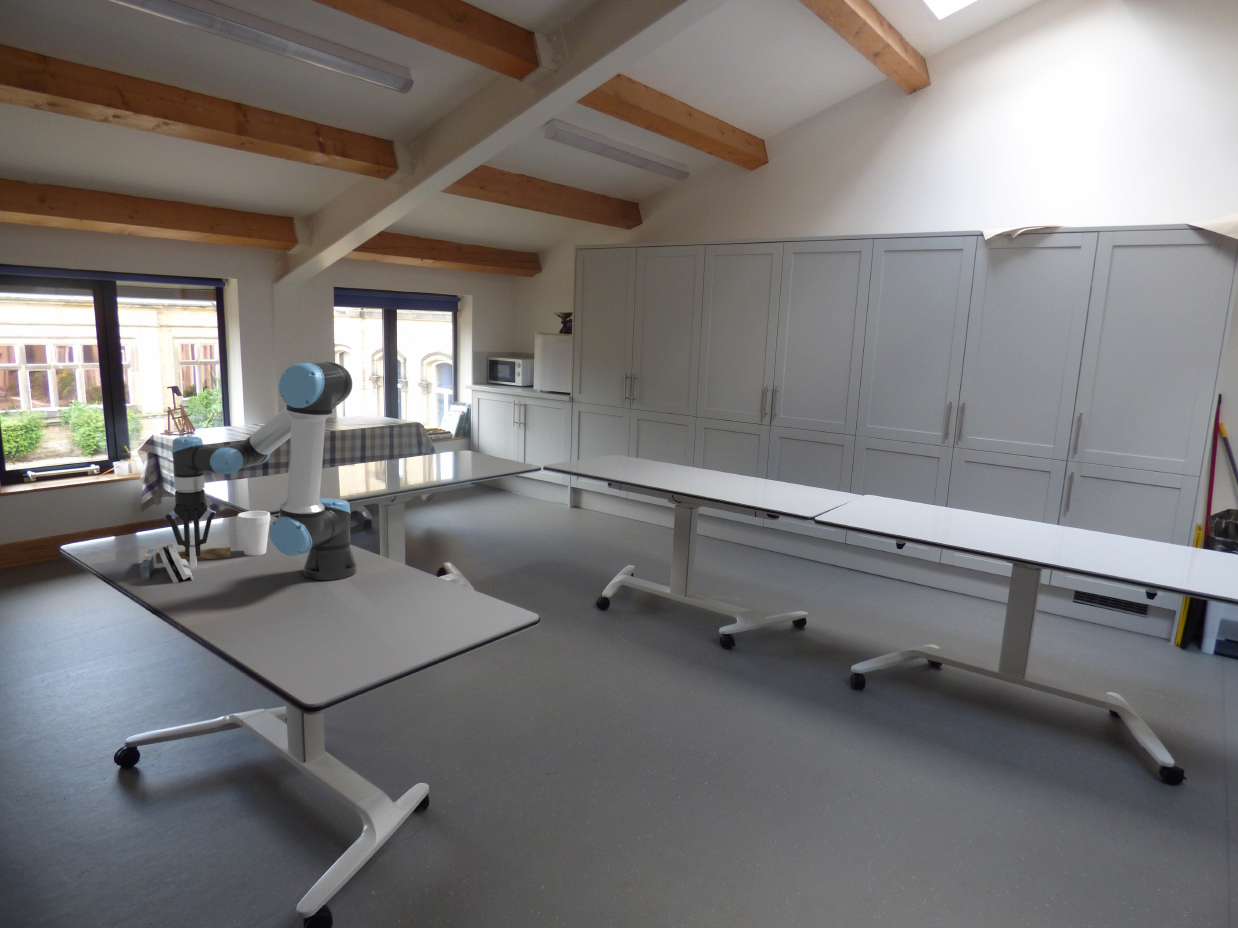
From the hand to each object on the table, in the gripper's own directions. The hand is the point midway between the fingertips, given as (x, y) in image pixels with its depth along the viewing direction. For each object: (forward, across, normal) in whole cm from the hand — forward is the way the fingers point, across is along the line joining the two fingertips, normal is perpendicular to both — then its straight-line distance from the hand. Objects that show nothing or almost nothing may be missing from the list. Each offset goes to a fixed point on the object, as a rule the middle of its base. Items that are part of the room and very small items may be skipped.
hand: (193, 566), depth 214 cm
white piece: (+2, +4, +1) cm, 5 cm away
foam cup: (+2, -16, -15) cm, 22 cm away
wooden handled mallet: (+2, +2, -5) cm, 5 cm away
